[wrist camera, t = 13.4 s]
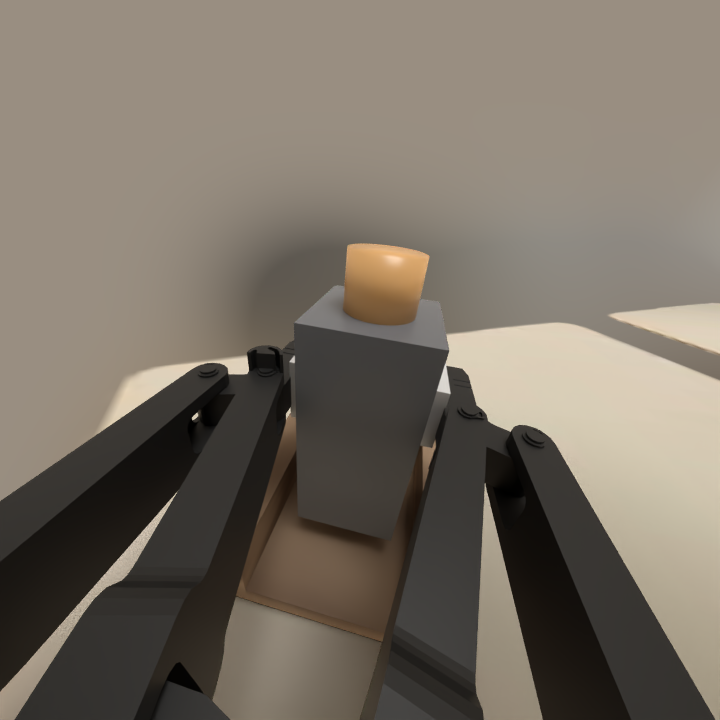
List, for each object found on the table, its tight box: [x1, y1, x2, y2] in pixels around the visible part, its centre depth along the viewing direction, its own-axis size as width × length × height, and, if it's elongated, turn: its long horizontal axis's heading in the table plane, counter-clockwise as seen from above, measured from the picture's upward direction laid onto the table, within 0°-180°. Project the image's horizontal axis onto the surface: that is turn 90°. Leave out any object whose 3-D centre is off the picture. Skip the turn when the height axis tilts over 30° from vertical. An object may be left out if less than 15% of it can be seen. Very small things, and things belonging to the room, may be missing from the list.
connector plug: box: [294, 244, 449, 541], centre depth 12 cm, size 4×4×12 cm
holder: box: [236, 413, 436, 642], centre depth 15 cm, size 10×10×4 cm
